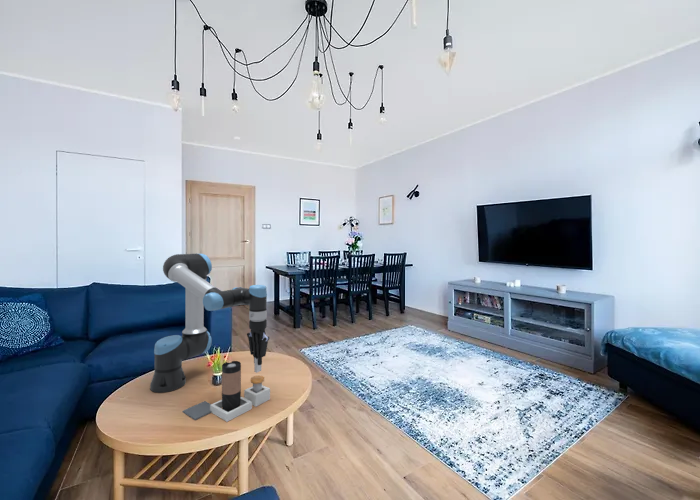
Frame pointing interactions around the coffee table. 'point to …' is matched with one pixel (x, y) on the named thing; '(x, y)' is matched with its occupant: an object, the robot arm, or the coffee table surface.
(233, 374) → the travel mug
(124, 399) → the coffee table surface
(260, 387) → the tan and grey knob
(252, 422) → the coffee table surface
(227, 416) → the socket collar
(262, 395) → the housing
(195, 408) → the mat
